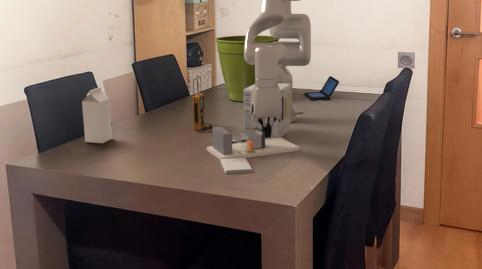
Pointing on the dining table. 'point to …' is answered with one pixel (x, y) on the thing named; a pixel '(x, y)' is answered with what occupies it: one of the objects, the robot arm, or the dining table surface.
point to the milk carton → (97, 117)
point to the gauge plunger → (252, 138)
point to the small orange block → (250, 146)
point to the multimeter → (198, 110)
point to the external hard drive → (236, 165)
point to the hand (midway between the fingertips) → (266, 136)
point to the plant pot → (237, 64)
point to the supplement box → (278, 127)
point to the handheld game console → (324, 90)
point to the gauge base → (230, 151)
